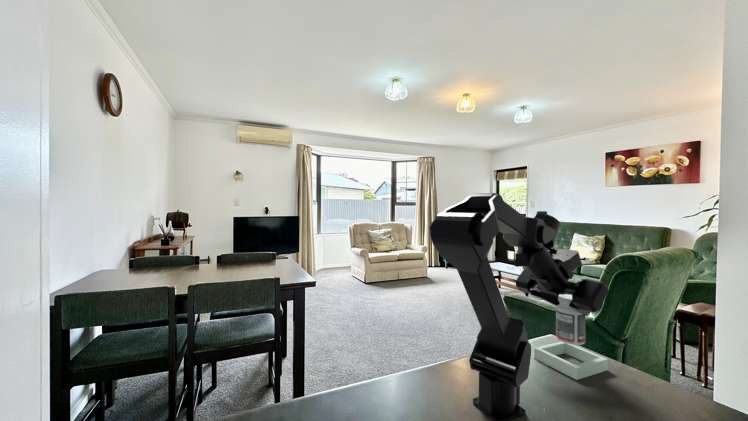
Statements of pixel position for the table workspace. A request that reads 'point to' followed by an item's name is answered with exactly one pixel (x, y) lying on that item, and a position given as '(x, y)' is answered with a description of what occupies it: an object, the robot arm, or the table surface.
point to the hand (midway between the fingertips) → (574, 310)
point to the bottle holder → (579, 371)
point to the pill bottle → (569, 322)
